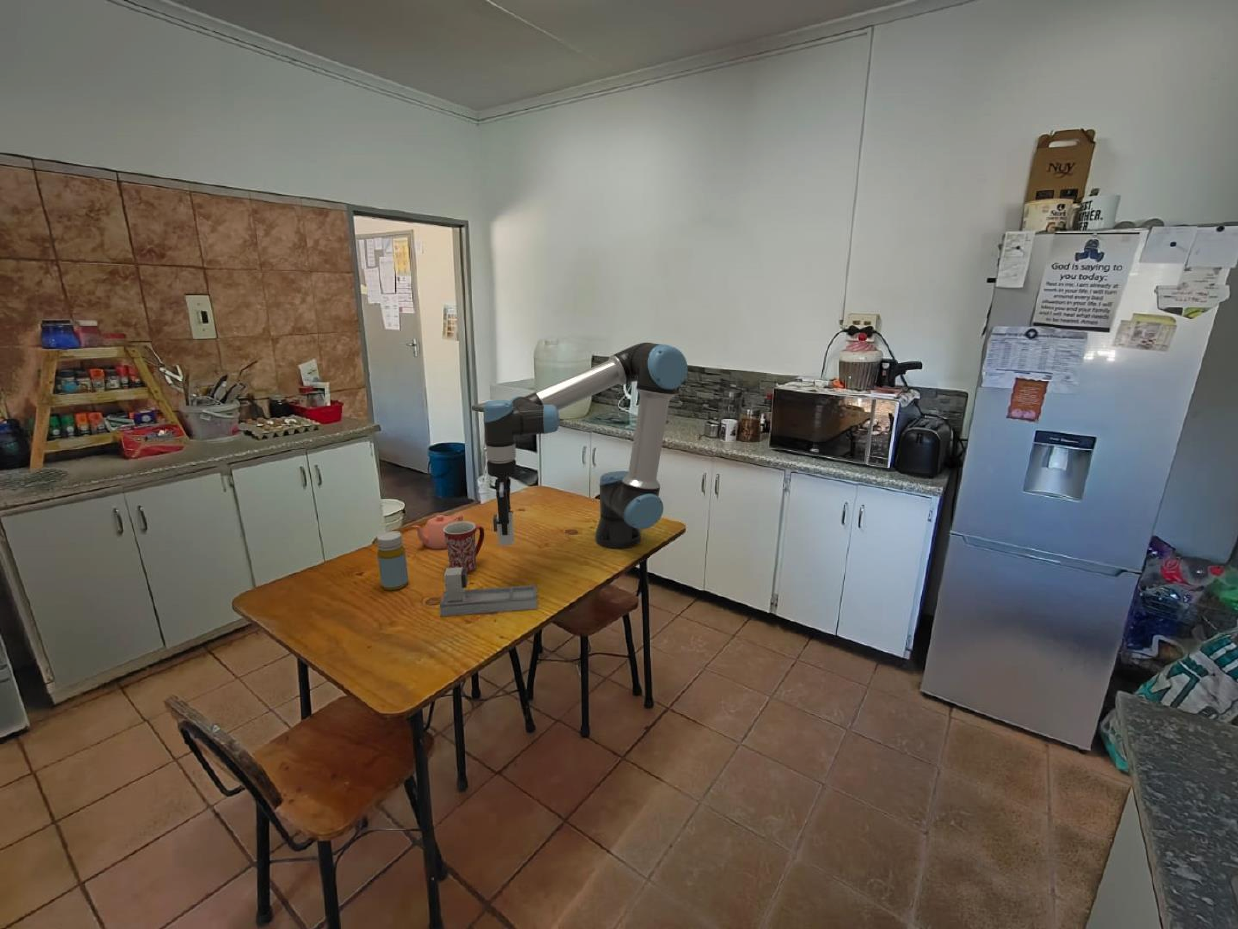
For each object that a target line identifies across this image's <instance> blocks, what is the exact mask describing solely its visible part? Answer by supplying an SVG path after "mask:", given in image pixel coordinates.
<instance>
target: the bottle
mask: <svg viewBox="0 0 1238 929" xmlns="http://www.w3.org/2000/svg"><path fill="white" fill-rule="evenodd" d="M376 541H377V547H378V550H377V560H378V568H379V569H378V570H379V576H380V585H381V587H382V588H383V589H384V590H386V591H398V590H402V589H403V588H405V587H406V586H407V585H408V583H409V572H408V565H407V555H406V550H405V547H404V545H403V537H402V533H401V532H400V531H397V530H395V531H394V530H391V531H385V532H382V533H379V534H378V535H377V537H376Z"/></svg>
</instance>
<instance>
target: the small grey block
mask: <svg viewBox="0 0 1238 929" xmlns="http://www.w3.org/2000/svg"><path fill="white" fill-rule="evenodd" d="M497 521H499V518H498V513H497V514H493V518H492V522H493V524H492V525H493V532H496V533H497V545H498V546H499V547H500V546H501V541H500V526H499V524H497ZM509 522H510V534H511V545H510V546H514V542H515V533H514V532H515V530H514V511H513V512H509Z"/></svg>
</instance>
